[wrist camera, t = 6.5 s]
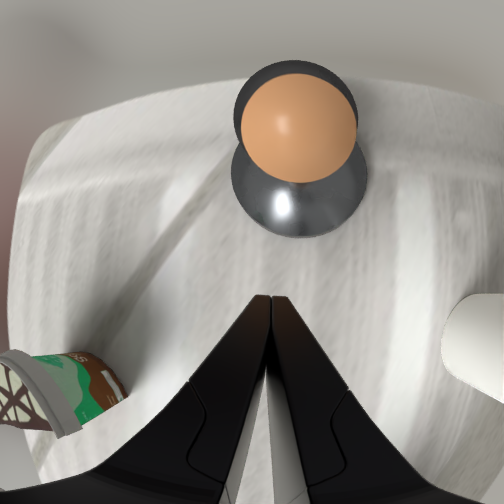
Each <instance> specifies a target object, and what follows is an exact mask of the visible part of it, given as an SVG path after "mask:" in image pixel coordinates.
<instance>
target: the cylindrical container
mask: <svg viewBox="0 0 504 504" xmlns="http://www.w3.org/2000/svg"><path fill="white" fill-rule="evenodd" d="M441 355H442V360H443V363H444V365H445V367H446V369H447V370H448V372H449V373H450V374H451V375H453V376H454V377H456V378H458V379H460V380H461V381H463V382H465V383H467V384H469V385H471V386H472V387H474V388H476V389H478V390H480V391H482V392H483V393H485V394H487V395H489V396H491V397H493V398H494V399H496V400H498V401H500V402H502V403H504V293H500V294H473V295H470V296H468V297H466V298H464V299H463V300H462V301H460V302H459V303H458V304H457V305H456V307H455V308H454V309H453V310H452V312H451V314H450V315H449V317H448V319H447V322H446V324H445V327H444V330H443V334H442V340H441Z"/></svg>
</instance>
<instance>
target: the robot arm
mask: <svg viewBox="0 0 504 504" xmlns="http://www.w3.org/2000/svg"><path fill="white" fill-rule="evenodd" d="M265 371H266V387H267V401H268V415H269V429H270V444H271V458H272V473H273V488H274V503H275V504H484V503H480V502H477V501H474V500H471V499H468V498H465V497H462V496H459V495H456V494H453V493H450V492H448V491H445V490H443V489H440V488H438V487H436V486H435V485H433V484H431V483H430V482H428V481H427V480H426V479H425V478H423V477H422V476H421V475H420V474H419V473H418V472H417V471H416V470H415V469H414V468H413V467H412V465H411V464H410V463H409V462H408V461H407V460H406V459H405V458H404V457H403V455H402V454H401V453H400V452H399V451H398V450H397V449H396V448H395V447H394V445H393V444H392V443H391V442H390V441H389V440H388V439H387V438H386V436H385V435H384V434H383V433H382V432H381V431H380V429H379V428H378V427H377V426H376V425H375V423H374V422H373V421H372V420H371V418H370V417H369V416H368V414H367V413H366V412H365V410H364V409H363V407H362V406H361V405H360V403H359V402H358V400H357V399H356V397H355V396H354V394H353V393H352V391H351V390H348V389H349V387H348V386H347V384H346V383H345V381H344V380H343V378H342V377H341V375H340V374H339V372H338V371H337V369H336V368H335V366H334V365H333V363H332V362H331V360H330V359H329V357H328V356H327V355H326V353H325V352H324V350H323V349H322V347H321V346H320V344H319V343H318V341H317V340H316V338H315V337H314V335H313V334H312V332H311V331H310V329H309V328H308V326H307V325H306V324H305V322H304V321H303V319H302V318H301V316H300V315H299V313H298V312H297V310H296V309H295V307H294V306H293V304H292V303H291V301H290V300H289V299H288V297H286V296H272V297H270V296H269V295H255V296H254V297H253V298H252V300H251V301H250V302H249V303H248V305H247V306H246V307H245V309H244V310H243V311H242V313H241V314H240V315H239V316H238V318H237V319H236V320H235V322H234V323H233V324H232V325H231V327H230V328H229V329H228V331H227V332H226V333H225V334H224V336H223V337H222V338H221V339H220V341H219V342H218V343H217V345H216V346H215V347H214V348H213V350H212V351H211V352H210V353H209V355H208V356H207V357H206V358H205V360H204V361H203V362H202V363H201V365H200V366H199V367H198V368H197V370H196V371H195V372H194V373H193V375H192V376H191V377H190V378H189V382H188V381H187V382H186V383H185V384H184V385H183V387H182V388H181V389H180V390H179V392H178V393H177V394H176V395H175V396H174V397H173V398H172V400H171V401H170V402H169V403H168V404H167V405H166V406H165V407H164V409H162V410H161V411H160V412H159V413H158V414H157V415H156V416H155V417H154V418H153V419H152V420H151V421H150V422H149V423H148V424H147V425H146V426H145V427H144V428H142V429H141V430H140V431H139V432H138V433H137V434H136V435H134V436H133V437H132V438H131V439H130V440H129V441H128V442H126V443H125V444H124V445H123V446H122V447H121V448H119V449H118V450H117V451H116V452H115V453H114V454H112V455H111V456H110V457H109V458H107V459H106V460H105V461H104V462H102V463H101V464H99V465H98V466H96V467H94V468H93V469H91V470H89V471H86V472H84V473H82V474H79V475H75V476H72V477H69V478H65V479H61V480H57V481H54V482H49V483H45V484H41V485H36V486H32V487H27V488H21V489H16V490H10V491H5V490H3V489H1V488H0V504H235V502H236V498H237V494H238V490H239V486H240V483H241V479H242V475H243V471H244V467H245V463H246V458H247V454H248V450H249V446H250V442H251V437H252V433H253V429H254V424H255V420H256V416H257V411H258V407H259V402H260V397H261V393H262V388H263V383H264V378H265Z"/></svg>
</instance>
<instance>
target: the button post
mask: <svg viewBox="0 0 504 504" xmlns="http://www.w3.org/2000/svg"><path fill="white" fill-rule="evenodd" d="M291 73H301V74H307V75H311V76H314V77H317V78H319V79H322V80H324V81H326V82H328V83H329V84H331V85H333V86H334V87H335V88H337V89H338V90H339V91H340V92H341V93H342V94H343V95H344V97H345V98H346V99H347V101H348V102H349V104H350V106H351V108H352V110H353V113H354V115H355V120H356V128H357V127H358V113H357V108H356V104H355V101H354V98H353V96H352V94H351V92H350V91H349V89H348V88H347V86H346V85H345V84H344V82H343V81H342V80H341V79H340V78H339V77H338V76H336V75H335V74H334V73H333V72H331V71H330V70H328V69H326V68H324V67H322V66H320V65H317V64H315V63H311V62H307V61H300V60H289V61H281V62H277V63H274V64H271V65H269V66H266V67H264V68H263V69H261V70H259V71H258V72H256V73H255V74H254V75H253V76H251V77H250V79H249V80H248V81H247V82H246V83H245V84H244V86H243V87H242V89H241V90H240V92H239V94H238V97H237V99H236V102H235V107H234V117H233V119H234V128H235V132H236V135H237V138H238V140H239V142H240V143H239V145H238V147H237V148H236V151H235V153H234V156H233V160H232V165H231V179H232V185H233V189H234V192H235V194H236V197H237V199H238V201H239V202H240V204H241V206H242V207H243V209H244V210H245V211H246V212H247V214H248V215H249V216H250V217H251V218H252V219H253V220H254V221H255V222H256V223H258V224H259V225H260V226H261V227H263V228H265V229H267V230H268V231H271V232H273V233H275V234H278V235H282V236H285V237H291V238H310V237H316V236H320V235H323V234H326V233H328V232H331V231H332V230H334V229H336V228H338V227H339V226H340V225H342V224H343V223H344V222H346V221H347V219H348V218H349V217H350V216H351V215H352V214H353V212H354V211H355V210H356V208H357V207H358V205H359V204H360V202H361V200H362V198H363V195H364V192H365V189H366V183H367V168H366V162H365V158H364V156H363V153H362V151H361V149H360V147H359V145H358V143H357V142H356V141H355V144H354V147H353V150H352V152H351V154H350V156H349V157H348V159H347V160H346V162H345V163H344V164H343V165H342V166H341V167H340V168H339V169H338V170H336V171H335V172H334V173H332V174H331V175H329V176H327V177H325V178H322V179H320V180H316V181H312V182H305V183H295V182H288V181H284V180H281V179H278V178H275V177H273V176H271V175H269V174H268V173H266V172H265V171H263V170H262V169H261V168H260V167H258V166H257V165H256V163H255V162H254V161H253V160H252V159H251V157H250V156H249V154H248V152H247V150H246V148H245V146H244V143H243V139H242V133H241V121H242V116H243V112H244V110H245V107H246V105H247V103H248V101H249V100H250V98H251V97H252V96H253V94H254V93H255V92H256V91H257V90H258V88H259V87H260V86H262V85H263V84H264V83H265V82H267V81H269V80H270V79H272V78H275V77H277V76H280V75H284V74H291ZM356 133H357V131H356Z"/></svg>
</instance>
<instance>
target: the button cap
mask: <svg viewBox="0 0 504 504" xmlns="http://www.w3.org/2000/svg"><path fill="white" fill-rule="evenodd" d="M356 131H357V128H356V120H355V115H354V113H353V110H352V108H351V106H350V104H349V102H348V101H347V99H346V98H345V97H344V95H343V94H342V93H341V92H340V91H339V90H338V89H337V88H335V87H334V86H333V85H331V84H329V83H328V82H326V81H324V80H322V79H319V78H317V77H314V76H311V75H307V74H301V73H291V74H284V75H280V76H277V77H275V78H272V79H270V80H269V81H267V82H265V83H264V84H263V85H262V86H260V87H259V88H258V90H257V91H256V92H255V93H254V94H253V96H252V97H251V98H250V100H249V101H248V103H247V105H246V107H245V110H244V112H243V116H242V121H241V133H242V139H243V143H244V146H245V148H246V150H247V152H248V154H249V156H250V157H251V159H252V160H253V161H254V162H255V163H256V165H257V166H258V167H260V168H261V169H262V170H263V171H265V172H266V173H268V174H269V175H271V176H273V177H275V178H278V179H281V180H284V181H288V182H295V183H305V182H312V181H316V180H320V179H322V178H325V177H327V176H329V175H331V174H332V173H334V172H335V171H336V170H338V169H339V168H340V167H341V166H342V165H343V164H344V163H345V162H346V160H347V159H348V157H349V156H350V154H351V152H352V150H353V147H354V144H355V140H356Z"/></svg>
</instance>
